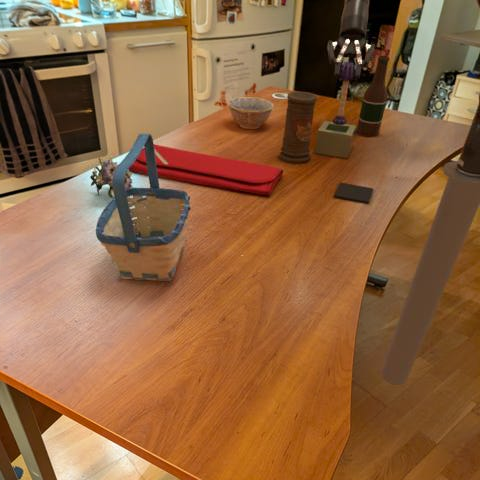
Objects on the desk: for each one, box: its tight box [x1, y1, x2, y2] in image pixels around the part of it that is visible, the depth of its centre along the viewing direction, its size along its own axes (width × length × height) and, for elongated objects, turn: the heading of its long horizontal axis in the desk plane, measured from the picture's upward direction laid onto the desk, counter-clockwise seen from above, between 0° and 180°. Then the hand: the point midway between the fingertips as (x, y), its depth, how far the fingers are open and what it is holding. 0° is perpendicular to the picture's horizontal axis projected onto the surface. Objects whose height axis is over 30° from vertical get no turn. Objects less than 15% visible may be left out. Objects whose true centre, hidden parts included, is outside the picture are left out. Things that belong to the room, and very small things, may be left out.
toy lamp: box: [332, 61, 355, 125], centre depth 138 cm, size 5×5×17 cm
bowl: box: [227, 96, 275, 130], centre depth 160 cm, size 16×16×8 cm
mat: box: [333, 182, 374, 205], centre depth 124 cm, size 9×9×1 cm
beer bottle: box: [356, 55, 390, 137], centre depth 155 cm, size 8×8×24 cm
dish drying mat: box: [128, 143, 284, 196], centre depth 128 cm, size 16×41×4 cm, turn 72°
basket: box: [95, 133, 192, 282], centre depth 86 cm, size 21×16×24 cm
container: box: [279, 91, 318, 164], centre depth 136 cm, size 9×9×18 cm
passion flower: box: [89, 157, 134, 199], centre depth 114 cm, size 11×11×12 cm
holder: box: [314, 120, 357, 159], centre depth 146 cm, size 10×10×7 cm
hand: (346, 77), depth 133 cm, fingers closed on toy lamp, 4 cm apart
